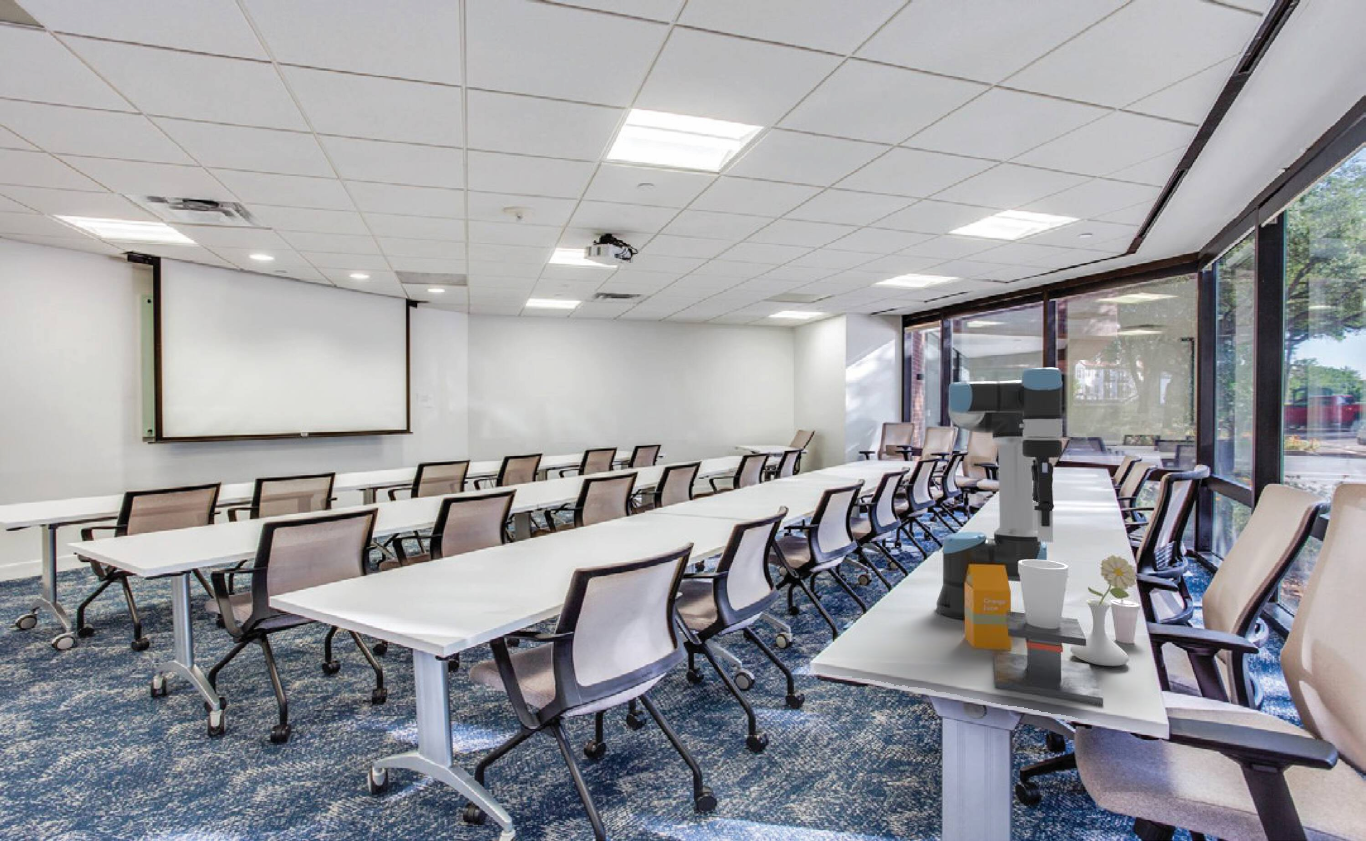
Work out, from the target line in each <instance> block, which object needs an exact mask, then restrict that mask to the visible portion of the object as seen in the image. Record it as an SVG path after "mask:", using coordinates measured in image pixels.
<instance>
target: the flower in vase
mask: <svg viewBox="0 0 1366 841" xmlns="http://www.w3.org/2000/svg"><path fill="white" fill-rule="evenodd" d="M1100 565H1101V567H1100V572H1101V573H1100V576H1101V577H1103V579H1104V580H1105V581H1106V582H1107V584H1108V589H1107V590H1106V591H1105V593H1104V594H1103V593H1102V592H1099V591H1096V590H1094V589H1092V588H1091V587H1089V586H1088V587H1087V590H1088V592H1089V593H1091V594H1093V595H1096V596H1099V597H1102V598H1101V599H1096V598H1095V599H1092V598H1091V599H1090V598H1089V599H1086V600H1085V602H1086V604H1087V605H1088V606H1089V608H1090V611H1091V616H1092V631H1091V633H1090V634H1088V635H1087V636H1085V638H1086V646H1080V645H1073V644H1071V647H1070V652H1071V654H1072V655H1073V656H1074V657H1076V658H1077V659H1080V660H1082V661H1084V662H1087V663H1088V664H1090V663H1091V664H1094V665H1099V666H1103V667H1106V666H1107V667H1118V666H1123V665H1126V664H1127V663H1128V662H1129V661H1130V658H1129V656H1128V653H1126V652H1125V651H1124V649H1122V648H1121V647H1120V646H1119V645H1118V644H1117V643H1115V642H1114V641H1113V640H1112V639H1111V638H1110V637H1109V636H1107V633H1106V630H1105V627H1106V626H1105V624H1106V622H1105V620H1106V614H1107V611H1108V609H1109V608H1111V605H1112V604H1111V603H1110V601H1107V600H1106V601H1105V600H1104V599H1105V598H1106V596H1107V595H1108V594H1109V593H1110V595H1112V596H1113V597H1114V598H1115V599H1117V600H1121V598H1123V599H1125V598H1128V597H1130V595H1129V593H1128V592H1127V591H1126V590H1128V588H1133V586H1135V585H1136V584H1137V583H1136V580H1137V579H1138V576H1137V572H1136V570H1135V569H1134V567H1133V565H1132V564H1129V561H1128V560H1127V559H1126V558H1122V557H1121V556H1115V555H1110V556H1108V557H1107V559H1106V558H1104V559H1102V560H1101V563H1100ZM1111 587H1113V588H1111Z"/></svg>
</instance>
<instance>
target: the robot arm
mask: <svg viewBox="0 0 1366 841" xmlns="http://www.w3.org/2000/svg"><path fill="white" fill-rule="evenodd" d="M1021 374H1022V377H1021V379H1020V380H996V381H995V380H994V381H992V380H991V381H989V380H987V381H986V380H985V381H965V380H963V381H956V382H951V383H950V384H949V386H948V409H947V410H948V411H947V412H948V414H947V415H948V418H949V420H950V421H951V422H952V423H953V424H954V425H955V426H957V427H958V428H961V429H963V430H966V431H970V432H973V433H983V434H984V433H985V434H986V433H987V434H992V440H993V441H994V443H996V444H997V445H998V447H997V448H998V492H999V496H998V498H999V499H998V501H999V502H998V503H999V504H998V506H999V511H998V512H999V527H998V528H997V529H996V530H994V531H993V538H988V537H987V535H986V533H984V532H980V531H978V532H977V531H964V532H963V531H962V532H956V533H949V534H948V535H946V536H945V537H944V538H943V540H942V550H941V553H942V586H941V589H940V592H939V595H938V598H937V601H936V611H937V612H938V613H939V614H941V615H944V616H945V617H948V618H952V619H957V620H963V621H965V579H966V575H967V571H968V567H969V564H985V565H1005V568H1006V573H1007V577H1008V582H1018V583H1021V582H1020V575H1019V573H1018V562H1019V561H1020V560H1032V559H1035V560H1047V561H1048V557H1047V556H1048V552H1047V551H1048V549H1047V548H1048V547H1047V543H1054V528H1053V527H1054V523H1053V522H1054V521H1053V520H1054V519H1053V518H1054V516H1053V515H1054V512H1053V510H1054V508H1055V505H1054V495H1053V492H1054V491H1053V481H1054V477H1053V475H1054V465H1053V463H1052V462H1050V458H1053V459H1055V458H1061V457H1063V441H1062V440H1060V438H1062V437H1063V418H1062V417H1063V416H1062V413H1063V412H1062V411H1063V410H1062V409H1063V406H1062V404H1063V402H1062V401H1063V400H1062V397H1063V395H1062V394H1063V392H1062V391H1063V384H1064V383H1063V381H1062V371H1061V369H1059V368H1058V367H1057V368H1056V367H1035V368H1027V369H1024V370H1023V372H1022V373H1021Z"/></svg>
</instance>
